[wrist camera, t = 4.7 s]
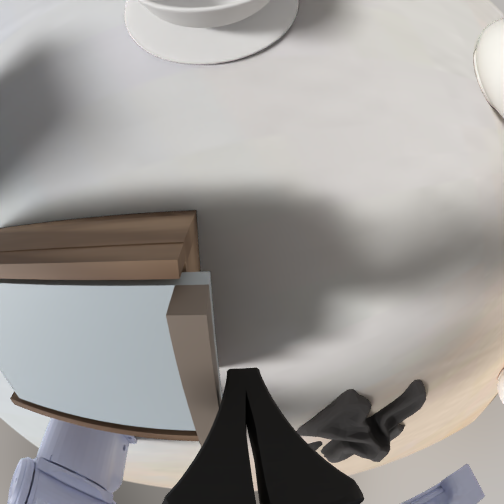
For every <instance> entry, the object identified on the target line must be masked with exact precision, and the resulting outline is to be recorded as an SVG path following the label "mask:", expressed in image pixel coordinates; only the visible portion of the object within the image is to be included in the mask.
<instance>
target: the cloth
mask: <svg viewBox="0 0 504 504" xmlns="http://www.w3.org/2000/svg"><path fill="white" fill-rule="evenodd" d="M425 400H426V392H425V387H424V385H423V383H422V381H421V380H420V379H419V380H414V381H413V382H412V383H411V384H410V386H409V387H408V388H407V389H406V391H405V392H404V393H403V394H402V395H401V396H399V397H398V398H397V399H396V400H395V401H393V402H392V403H390V404H389V405H387V406H386V407H384V408H383V409H381V410H380V411H379V412H377V413H376V414H374V415H373V416H371V417H369V418H366V417H367V415H368V413H369V411H370V409H371V404H370V402H369V400H368V399H366V398H365V397H363V396H361V395H359V394H358V393H357V392H356V391H355V390H353V389H351V390H347V391H345V392H344V393H342V394H341V395H340V396H339V397H338V398H337V399H336V400H335V401H333V402H332V403H331V404H330V405H329V406H327V407H326V408H325V409H324V410H322V411H321V412H320V413H318V414H317V415H316V416H315V417H314V418H312V419H311V420H310V421H308V422H307V423H305V424H304V425H302V426H301V427H300V428H299V429H298V430H297V431H296V432H297V433H298V434H299V435H301V436H315V437H322V438H327V439H332V441H330V442H329V443H328V444H326V445H325V446H324V447H323V449H322V450H321V452H322V453H323V454H324V457H326V458H327V459H328V461H330V462H331V463H336V462H340V461H342V460H345V459H347V458H348V457H350V456H352V455H354V454H355V455H357V456H360V457H362V458H366V459H370V460H372V461H375V462H380V461H381V460H382V459H383V458H384V457H385V456H386V455H387V454H388V453H389V451H390V441H391V440H393V439H394V438H395V437H397V436H398V435H399V434H400V433H401V432H402V431H403V429H404V426H405V425H400V424H399V423H400V422H402V421H403V420H405V419H406V418H408V417H409V416H411V415H413V414H414V413H415V412H417V411H418V410H419V409H421V407H422V405H423V404H424V402H425ZM308 445H309V446H310V447H311V448H312V449H314V450H315V451H316V450H317V449H318V448H319V447H320V446H321V445H322V442H321V441H317V442H313V443H310V444H308Z"/></svg>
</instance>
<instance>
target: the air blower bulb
mask: <svg viewBox="0 0 504 504" xmlns="http://www.w3.org/2000/svg"><path fill="white" fill-rule="evenodd" d="M499 375H500V376H499V377H498V381H499V382H498V384H497V389H498V394H499V397H500V399H501V401H502V403H503V404H504V369H503V370H502V371H501V372H500V374H499Z"/></svg>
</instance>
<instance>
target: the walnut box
mask: <svg viewBox="0 0 504 504" xmlns="http://www.w3.org/2000/svg"><path fill="white" fill-rule="evenodd" d="M182 272H201V271H200V259H199V245H198V230H197V214H196V210H189V211H170V212H153V213H138V214H124V215H112V216H100V217H90V218H79V219H70V220H61V221H52V222H43V223H35V224H28V225H20V226H13V227H6V228H0V278H1V279H41V280H148V279H180V276H181V273H182ZM10 399H11V400H12V402H13V403H14V404H15V405H17V406H20V407H22V408H25V409H28V410H30V411H33V412H36V413H39V414H42V415H45V416H48V417H51V418H54V419H57V420H61V421H64V422H68V423H71V424H75V425H79V426H83V427H87V428H92V429H96V430H101V431H106V432H112V433H117V434H123V435H130V436H137V437H146V438H155V439H167V440H183V441H199V438H198V436H197V433H196V431H189V430H169V429H156V428H145V427H137V426H129V425H122V424H116V423H110V422H104V421H99V420H94V419H89V418H85V417H80V416H76V415H72V414H68V413H64V412H61V411H57V410H54V409H50V408H47V407H44V406H41V405H37V404H35V403H32V402H29V401H26V400H23V399H20V398H19V397H18V395H17V394H16V393H15V391H14V393H13V395H12V397H11V398H10Z"/></svg>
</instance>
